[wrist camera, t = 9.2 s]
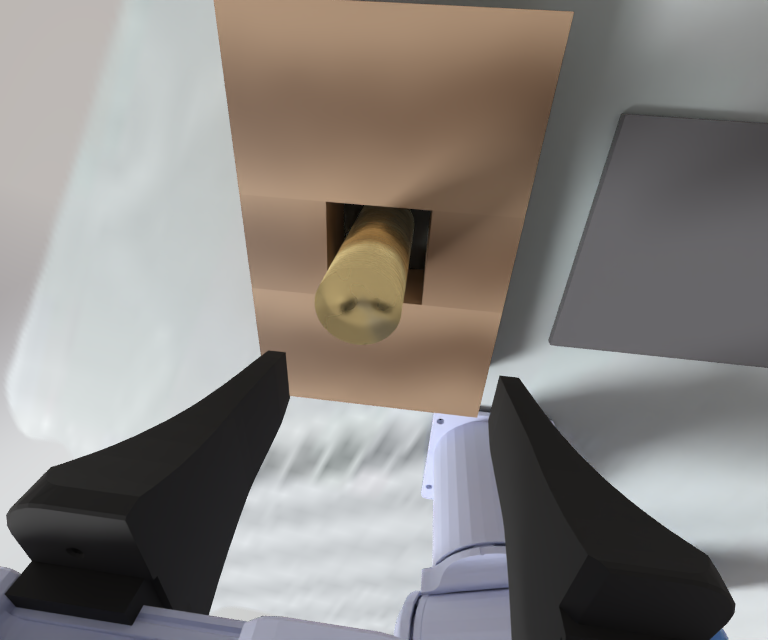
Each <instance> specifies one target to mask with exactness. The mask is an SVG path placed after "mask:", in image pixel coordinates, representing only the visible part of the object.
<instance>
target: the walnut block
mask: <svg viewBox="0 0 768 640" xmlns="http://www.w3.org/2000/svg"><path fill="white" fill-rule="evenodd" d="M214 6H215V14H216V21H217V29H218V36H219V44H220V51H221V59H222V66H223V74H224V81H225V89H226V96H227V104H228V111H229V119H230V126H231V134H232V141H233V149H234V156H235V164H236V171H237V179H238V187H239V194H240V202H241V209H242V217H243V224H244V232H245V239H246V247H247V254H248V262H249V269H250V277H251V284H252V292H253V299H254V307H255V314H256V322H257V329H258V337H259V344H260V352H261V356H262V355H263V354H264V353H265V352H267V351H268V350H270V351H279V352H286V361H287V372H288V382H289V393H290V396H296V397H305V398H313V399H322V400H330V401H339V402H347V403H356V404H364V405H373V406H381V407H390V408H398V409H407V410H415V411H424V412H432V413H441V414H449V415H458V416H466V417H475V418H477V416H478V412H479V408H480V404H481V400H482V395H483V391H484V387H485V383H486V379H487V375H488V370H489V366H490V362H491V358H492V354H493V349H494V345H495V341H496V337H497V333H498V328H499V324H500V320H501V316H502V312H503V308H504V303H505V299H506V295H507V291H508V287H509V282H510V278H511V274H512V270H513V266H514V261H515V257H516V253H517V249H518V245H519V241H520V236H521V232H522V228H523V224H524V220H525V215H526V211H527V207H528V203H529V199H530V194H531V190H532V186H533V182H534V178H535V173H536V169H537V165H538V161H539V157H540V153H541V148H542V144H543V140H544V136H545V132H546V127H547V123H548V119H549V115H550V111H551V106H552V102H553V98H554V94H555V90H556V86H557V81H558V77H559V73H560V69H561V65H562V60H563V56H564V52H565V48H566V44H567V39H568V35H569V31H570V27H571V23H572V19H573V14H574V12H570V11H550V10H530V9H511V8H491V7H471V6H451V5H431V4H411V3H391V2H372V1H352V0H214ZM344 203H349V204H361V205H373V206H384V207H396V208H408V209H420V210H431V213H430V222H429V231H428V240H427V249H426V257H425V266H424V270H420V269H409V268H408V273H407V280H406V286H405V293H404V300H403V306H402V313H401V319H400V322H399V324H398V326H397V328H396V329H395V330H394V332H393V333H392V334H391V335H389V336H388V337H387V338H385V339H384V340H382V341H379V342H377V343H373V344H368V345H357V344H351V343H347V342H344V341H342V340H340V339H338V338H336V337H335V336H333V335H332V334H330V333H329V332H328V331H327V330H326V329H325V328H324V327H323V325H322V324H321V322H320V321H319V319H318V317H317V314H316V311H315V294H316V291H317V289H318V287H319V285H320V283H321V282H322V280H323V278H324V276H325V274H326V273H327V271H328V269H329V267H330V265H331V264H332V262H333V260H334V258H335V256H336V255H337V253H338V251H339V249H340V248H341V246H342V244H343V242H344Z"/></svg>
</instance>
